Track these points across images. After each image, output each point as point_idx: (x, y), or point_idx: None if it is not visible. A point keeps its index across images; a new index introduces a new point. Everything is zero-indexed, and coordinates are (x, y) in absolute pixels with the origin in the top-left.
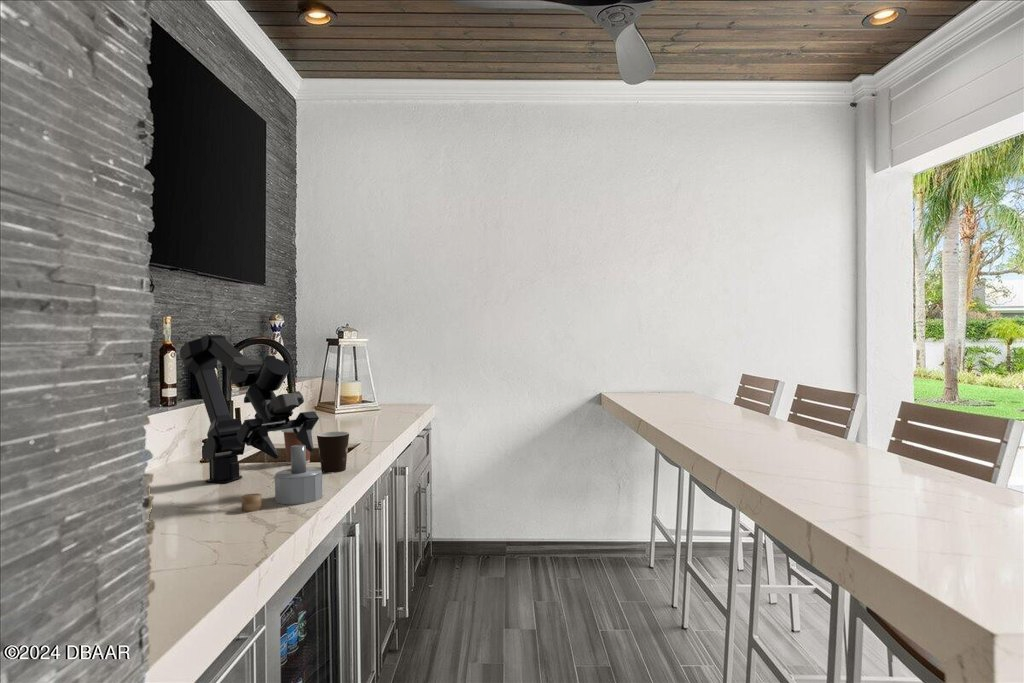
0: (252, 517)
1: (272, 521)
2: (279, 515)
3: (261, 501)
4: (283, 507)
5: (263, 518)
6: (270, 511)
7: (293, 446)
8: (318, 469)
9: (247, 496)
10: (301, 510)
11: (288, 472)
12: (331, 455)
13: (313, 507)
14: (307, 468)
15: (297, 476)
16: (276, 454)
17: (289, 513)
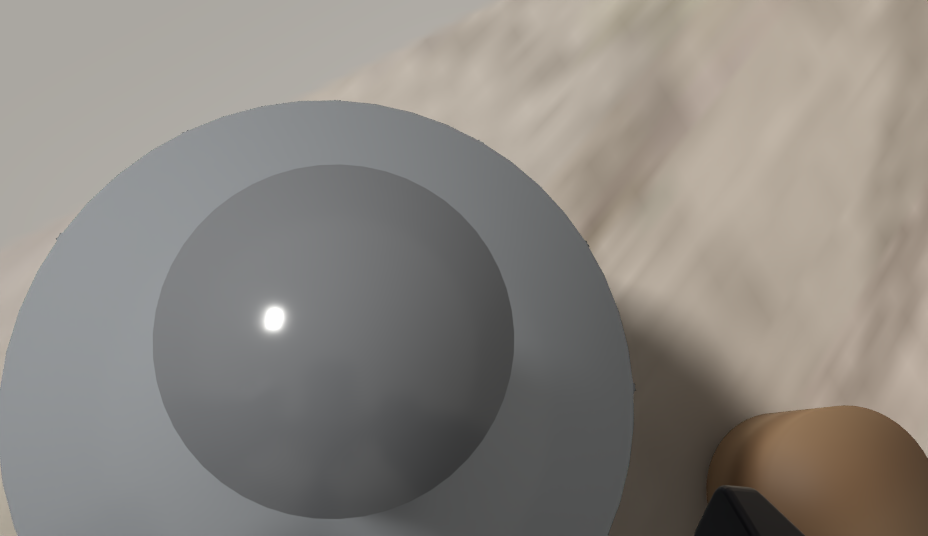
0: (894, 287)
1: (863, 80)
2: (757, 147)
3: (758, 433)
4: None
5: (862, 192)
6: (733, 296)
7: (437, 394)
8: (76, 266)
9: (890, 517)
10: (588, 97)
11: (415, 511)
12: None
13: (484, 73)
14: (83, 477)
15: (521, 203)
16: (769, 506)
17: (686, 119)
